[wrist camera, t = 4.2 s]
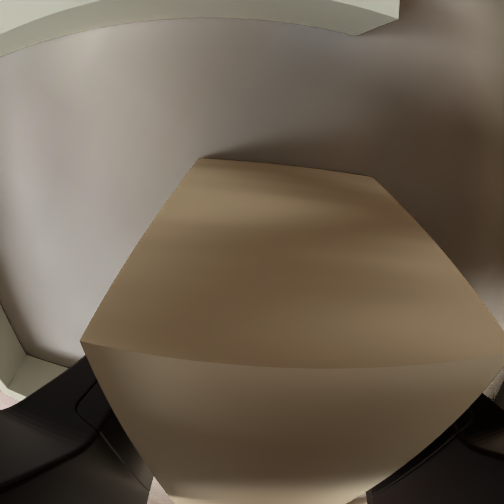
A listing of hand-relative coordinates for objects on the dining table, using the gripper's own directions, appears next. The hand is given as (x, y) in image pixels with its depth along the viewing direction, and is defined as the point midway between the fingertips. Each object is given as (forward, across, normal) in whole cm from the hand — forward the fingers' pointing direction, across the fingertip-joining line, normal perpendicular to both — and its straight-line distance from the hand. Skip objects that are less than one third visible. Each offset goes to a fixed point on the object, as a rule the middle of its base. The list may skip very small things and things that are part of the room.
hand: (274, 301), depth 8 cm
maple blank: (+1, 0, 0) cm, 1 cm away
